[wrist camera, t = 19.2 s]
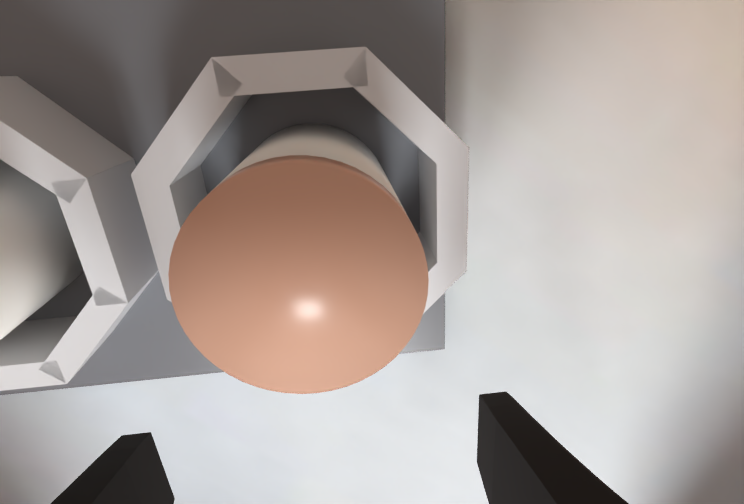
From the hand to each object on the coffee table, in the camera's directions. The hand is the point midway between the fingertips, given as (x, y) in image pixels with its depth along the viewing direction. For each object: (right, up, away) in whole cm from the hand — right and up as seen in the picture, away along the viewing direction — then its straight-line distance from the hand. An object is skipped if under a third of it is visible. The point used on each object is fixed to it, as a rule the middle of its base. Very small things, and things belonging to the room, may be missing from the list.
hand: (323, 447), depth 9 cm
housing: (-5, +6, +4) cm, 9 cm away
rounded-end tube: (-1, +6, +4) cm, 7 cm away
